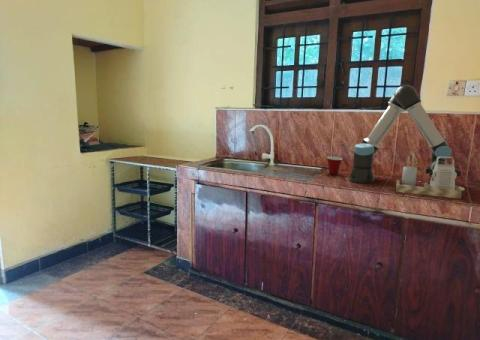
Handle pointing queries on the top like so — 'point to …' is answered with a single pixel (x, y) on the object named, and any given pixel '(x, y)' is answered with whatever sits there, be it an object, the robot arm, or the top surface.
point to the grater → (443, 176)
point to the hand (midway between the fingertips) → (444, 175)
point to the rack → (429, 190)
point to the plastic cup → (334, 164)
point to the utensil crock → (409, 173)
